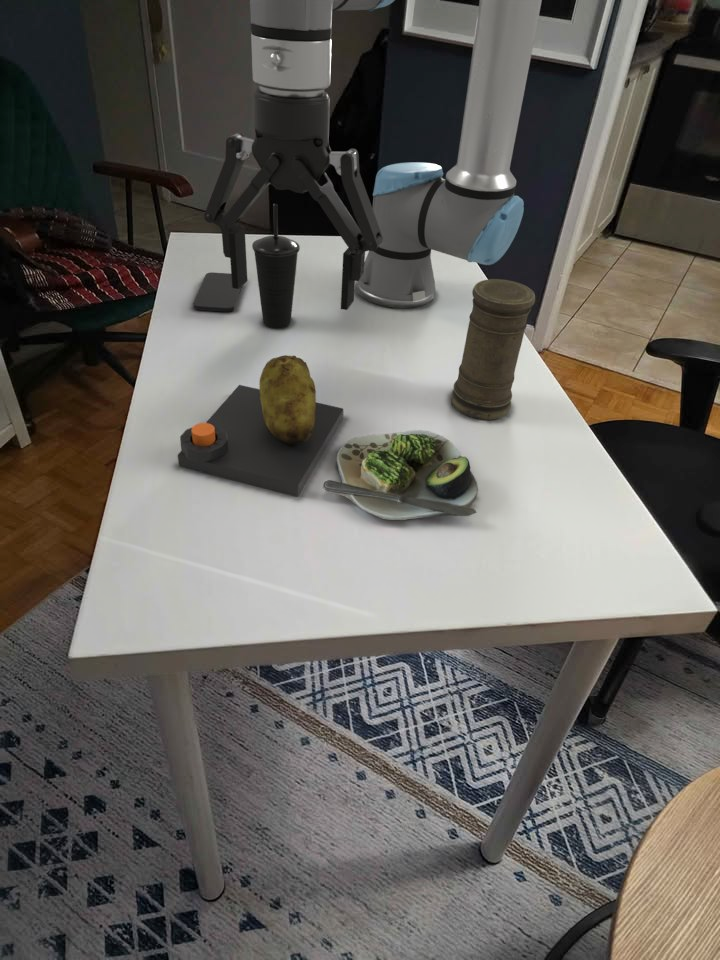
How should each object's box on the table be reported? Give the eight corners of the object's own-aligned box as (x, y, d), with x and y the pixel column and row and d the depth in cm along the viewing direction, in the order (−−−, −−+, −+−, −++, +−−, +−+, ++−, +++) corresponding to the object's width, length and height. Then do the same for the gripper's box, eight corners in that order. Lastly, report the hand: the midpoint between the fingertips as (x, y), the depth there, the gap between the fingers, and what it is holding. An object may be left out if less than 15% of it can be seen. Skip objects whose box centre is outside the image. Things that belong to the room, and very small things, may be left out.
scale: (237, 395, 95) (236, 374, 93) (343, 419, 92) (344, 398, 90) (175, 467, 81) (171, 445, 79) (296, 499, 78) (296, 476, 76)
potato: (246, 448, 82) (244, 394, 77) (265, 394, 92) (264, 344, 87) (311, 455, 82) (313, 402, 77) (323, 400, 92) (325, 350, 87)
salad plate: (336, 543, 73) (338, 513, 70) (307, 449, 86) (308, 420, 83) (494, 523, 78) (502, 494, 75) (443, 436, 91) (448, 408, 88)
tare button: (199, 431, 82) (198, 420, 81) (219, 436, 82) (218, 425, 81) (188, 444, 80) (187, 432, 79) (209, 449, 80) (208, 437, 79)
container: (510, 424, 94) (540, 308, 83) (448, 415, 95) (470, 299, 83) (509, 392, 101) (537, 281, 90) (451, 384, 102) (472, 273, 90)
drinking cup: (271, 336, 110) (269, 215, 97) (246, 319, 114) (241, 201, 101) (307, 325, 114) (309, 207, 101) (281, 309, 118) (280, 194, 105)
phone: (191, 305, 114) (206, 271, 126) (191, 310, 115) (206, 275, 126) (233, 308, 115) (244, 274, 126) (233, 312, 115) (244, 278, 127)
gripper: (156, 79, 62) (182, 287, 76) (406, 112, 58) (385, 328, 72) (193, 68, 68) (211, 264, 82) (424, 98, 64) (401, 300, 77)
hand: (292, 294), depth 77 cm, fingers open, 13 cm apart
